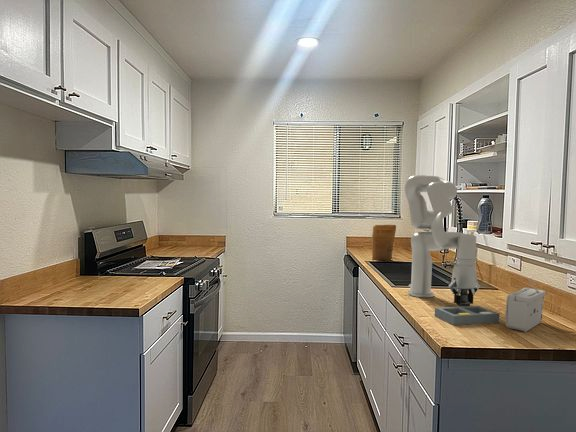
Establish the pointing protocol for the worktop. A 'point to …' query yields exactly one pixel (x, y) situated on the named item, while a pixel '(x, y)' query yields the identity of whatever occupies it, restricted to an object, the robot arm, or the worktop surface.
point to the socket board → (466, 315)
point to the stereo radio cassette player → (524, 308)
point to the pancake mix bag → (383, 241)
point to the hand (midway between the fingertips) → (463, 303)
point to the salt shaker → (464, 298)
